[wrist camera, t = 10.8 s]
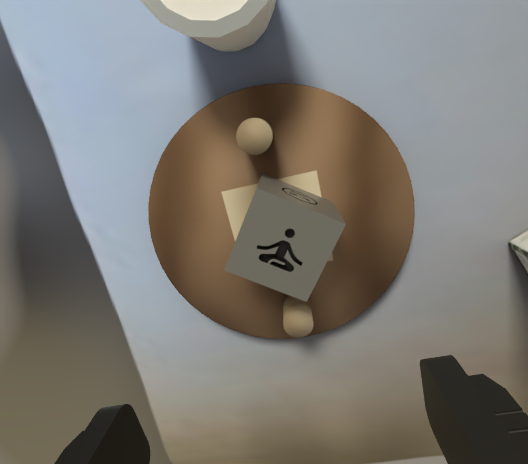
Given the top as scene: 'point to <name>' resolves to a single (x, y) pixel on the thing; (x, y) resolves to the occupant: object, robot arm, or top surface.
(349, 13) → the top surface
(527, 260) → the syrup box
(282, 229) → the dice cube
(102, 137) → the top surface
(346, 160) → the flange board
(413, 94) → the top surface
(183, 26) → the white cup
